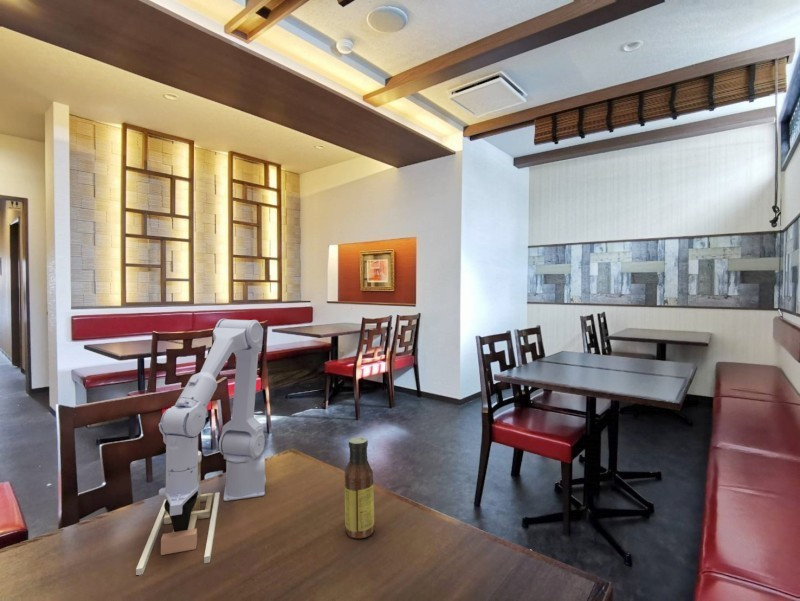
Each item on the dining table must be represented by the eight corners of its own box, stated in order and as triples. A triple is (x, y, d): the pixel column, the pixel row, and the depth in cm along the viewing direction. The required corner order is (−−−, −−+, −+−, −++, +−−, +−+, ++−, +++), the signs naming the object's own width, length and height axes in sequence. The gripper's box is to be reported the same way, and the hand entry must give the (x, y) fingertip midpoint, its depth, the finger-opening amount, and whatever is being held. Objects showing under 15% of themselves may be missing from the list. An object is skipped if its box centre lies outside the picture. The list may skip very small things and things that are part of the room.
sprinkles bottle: (176, 517, 92) (177, 458, 92) (180, 507, 97) (181, 450, 96) (199, 514, 94) (199, 456, 93) (202, 504, 98) (203, 448, 98)
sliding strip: (212, 498, 101) (213, 486, 101) (203, 547, 82) (204, 532, 81) (171, 504, 98) (171, 491, 98) (151, 556, 78) (152, 541, 78)
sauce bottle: (376, 524, 91) (377, 435, 91) (371, 541, 85) (373, 445, 84) (347, 522, 92) (348, 433, 91) (340, 539, 85) (342, 444, 85)
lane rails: (219, 496, 102) (219, 492, 102) (209, 562, 77) (210, 555, 77) (164, 504, 98) (164, 499, 98) (135, 575, 73) (136, 569, 73)
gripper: (166, 454, 89) (165, 517, 89) (151, 484, 75) (150, 558, 75) (202, 451, 91) (202, 511, 91) (194, 479, 77) (193, 550, 78)
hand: (181, 532), depth 83 cm, fingers closed
